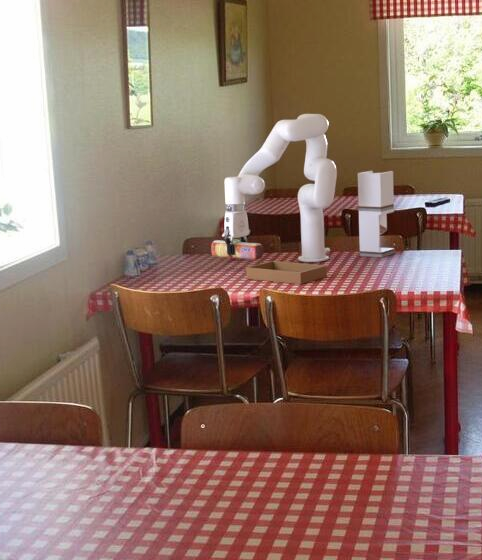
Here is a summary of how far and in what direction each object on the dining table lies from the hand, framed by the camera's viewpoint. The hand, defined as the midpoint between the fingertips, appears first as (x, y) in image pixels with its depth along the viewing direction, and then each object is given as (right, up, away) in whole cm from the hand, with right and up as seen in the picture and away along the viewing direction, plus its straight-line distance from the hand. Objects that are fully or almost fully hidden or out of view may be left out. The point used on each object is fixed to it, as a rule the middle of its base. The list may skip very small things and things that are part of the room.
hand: (237, 252), depth 394 cm
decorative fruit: (-4, -3, +25) cm, 25 cm away
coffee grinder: (+57, 0, +29) cm, 64 cm away
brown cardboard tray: (+21, -10, -18) cm, 29 cm away
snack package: (0, -2, +1) cm, 2 cm away
